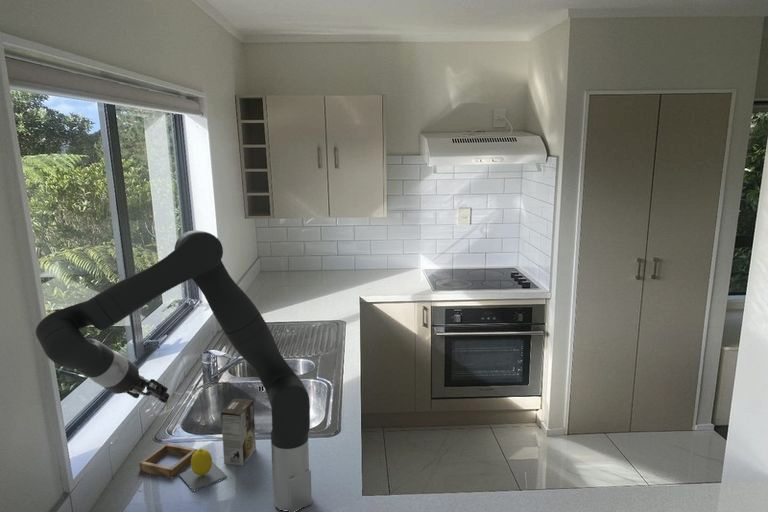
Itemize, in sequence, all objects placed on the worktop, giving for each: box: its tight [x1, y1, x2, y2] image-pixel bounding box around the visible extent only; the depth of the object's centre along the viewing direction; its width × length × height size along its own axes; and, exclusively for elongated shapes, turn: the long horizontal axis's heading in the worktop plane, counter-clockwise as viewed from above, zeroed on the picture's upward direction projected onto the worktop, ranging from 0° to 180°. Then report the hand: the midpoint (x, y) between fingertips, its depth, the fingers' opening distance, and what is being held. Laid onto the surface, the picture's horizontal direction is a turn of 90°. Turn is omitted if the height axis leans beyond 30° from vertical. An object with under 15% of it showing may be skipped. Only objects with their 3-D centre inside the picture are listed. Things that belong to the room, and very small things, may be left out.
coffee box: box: [220, 398, 257, 466], centre depth 157 cm, size 9×6×16 cm
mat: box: [178, 461, 228, 492], centre depth 148 cm, size 10×10×1 cm
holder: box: [138, 442, 198, 479], centre depth 154 cm, size 11×11×2 cm
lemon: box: [190, 448, 213, 476], centre depth 147 cm, size 6×6×8 cm
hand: (152, 396), depth 133 cm, fingers open, 8 cm apart
